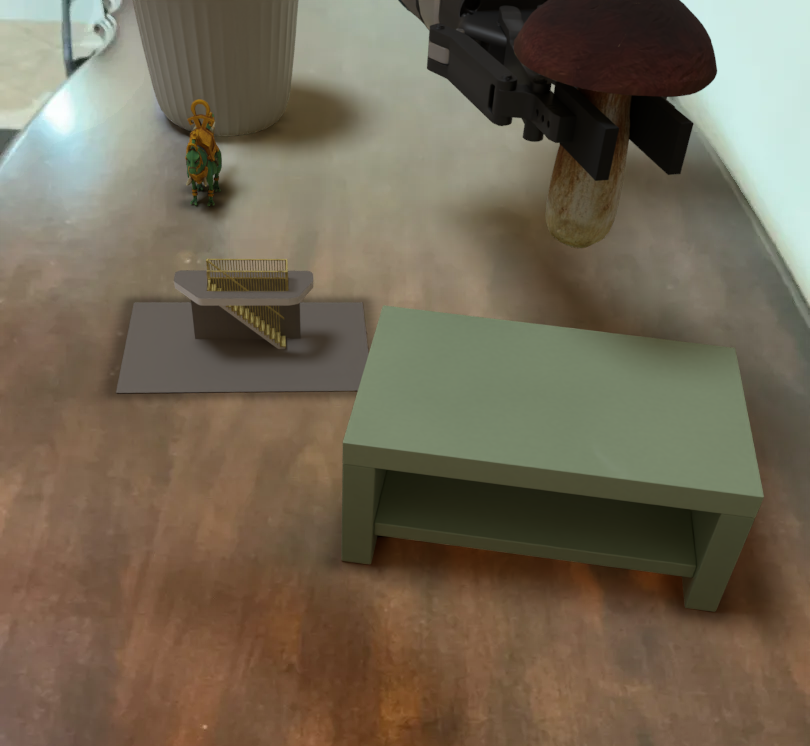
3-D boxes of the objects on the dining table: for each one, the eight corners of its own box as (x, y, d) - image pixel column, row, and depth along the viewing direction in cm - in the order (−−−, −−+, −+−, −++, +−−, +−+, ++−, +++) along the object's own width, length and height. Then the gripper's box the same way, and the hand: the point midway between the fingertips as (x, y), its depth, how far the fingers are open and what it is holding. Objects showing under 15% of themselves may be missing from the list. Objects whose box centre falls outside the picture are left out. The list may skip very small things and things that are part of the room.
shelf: (696, 459, 66) (735, 347, 60) (715, 612, 56) (764, 497, 50) (377, 419, 67) (382, 304, 61) (340, 561, 57) (342, 442, 51)
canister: (275, 165, 95) (265, -84, 81) (105, 136, 98) (66, -111, 83) (332, 101, 108) (333, -125, 93) (181, 76, 111) (158, -147, 96)
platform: (372, 390, 70) (375, 310, 65) (115, 392, 68) (100, 310, 63) (362, 302, 78) (364, 225, 74) (133, 302, 76) (121, 223, 72)
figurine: (179, 219, 86) (169, 127, 81) (201, 162, 95) (192, 75, 89) (214, 221, 86) (206, 129, 81) (232, 164, 95) (226, 77, 89)
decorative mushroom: (516, 189, 65) (556, -70, 54) (678, 227, 62) (753, -35, 52) (462, 261, 57) (496, -23, 47) (644, 308, 55) (723, 20, 44)
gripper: (589, 62, 71) (760, 207, 55) (369, 73, 67) (486, 233, 51) (610, -56, 66) (805, 68, 50) (373, -51, 62) (504, 85, 46)
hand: (643, 151), depth 51 cm, fingers closed on decorative mushroom, 4 cm apart
